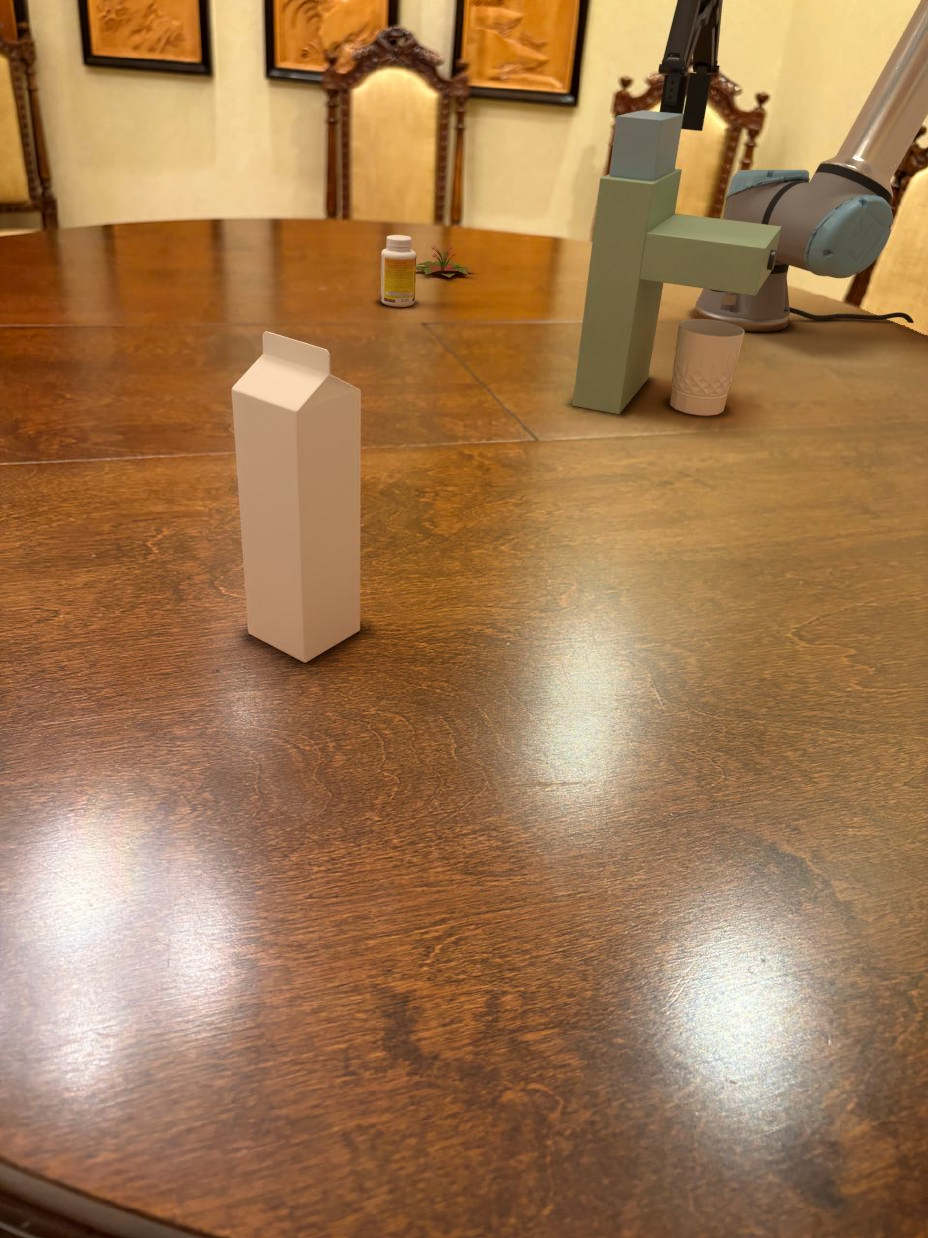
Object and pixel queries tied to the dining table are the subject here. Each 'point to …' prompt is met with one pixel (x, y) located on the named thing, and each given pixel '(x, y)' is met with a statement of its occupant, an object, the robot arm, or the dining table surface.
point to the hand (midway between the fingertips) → (680, 133)
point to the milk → (299, 497)
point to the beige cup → (704, 365)
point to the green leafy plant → (442, 265)
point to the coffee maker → (652, 258)
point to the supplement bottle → (398, 272)
